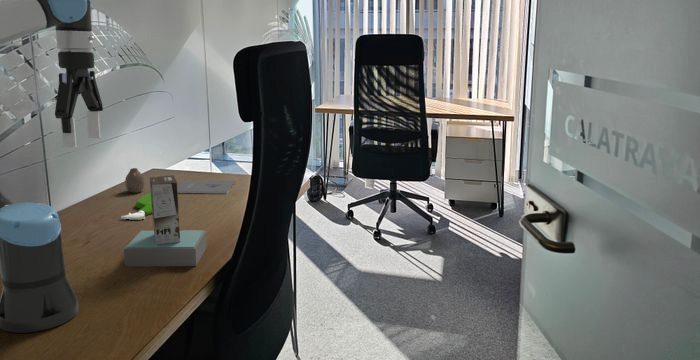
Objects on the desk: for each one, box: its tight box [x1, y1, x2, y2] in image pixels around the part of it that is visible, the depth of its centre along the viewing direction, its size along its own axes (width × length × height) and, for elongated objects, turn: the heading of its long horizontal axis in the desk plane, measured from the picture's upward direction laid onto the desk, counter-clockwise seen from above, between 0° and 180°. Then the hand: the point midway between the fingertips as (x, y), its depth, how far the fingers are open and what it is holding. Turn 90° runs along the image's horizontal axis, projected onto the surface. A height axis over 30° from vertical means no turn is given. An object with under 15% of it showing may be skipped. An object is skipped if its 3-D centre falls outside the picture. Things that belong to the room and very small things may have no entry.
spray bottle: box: [120, 192, 153, 221], centre depth 199 cm, size 3×11×24 cm
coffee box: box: [149, 174, 180, 244], centre depth 155 cm, size 9×6×16 cm
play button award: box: [177, 179, 236, 195], centre depth 227 cm, size 16×2×20 cm
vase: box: [124, 167, 146, 194], centre depth 220 cm, size 7×7×9 cm
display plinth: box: [123, 229, 208, 267], centre depth 158 cm, size 14×18×5 cm
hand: (82, 142), depth 141 cm, fingers open, 13 cm apart
